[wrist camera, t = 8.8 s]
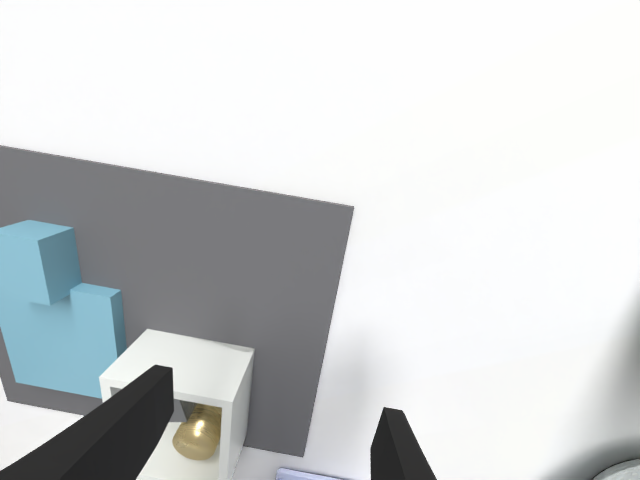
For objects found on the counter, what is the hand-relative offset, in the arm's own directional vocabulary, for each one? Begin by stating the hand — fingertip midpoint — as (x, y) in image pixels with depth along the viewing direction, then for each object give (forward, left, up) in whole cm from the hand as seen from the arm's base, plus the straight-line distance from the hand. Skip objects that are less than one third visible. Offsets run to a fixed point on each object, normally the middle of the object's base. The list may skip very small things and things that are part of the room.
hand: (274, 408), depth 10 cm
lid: (-6, +17, -10) cm, 21 cm away
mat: (-6, +11, -10) cm, 16 cm away
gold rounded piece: (-12, +6, -9) cm, 17 cm away
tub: (-11, +7, -10) cm, 16 cm away
